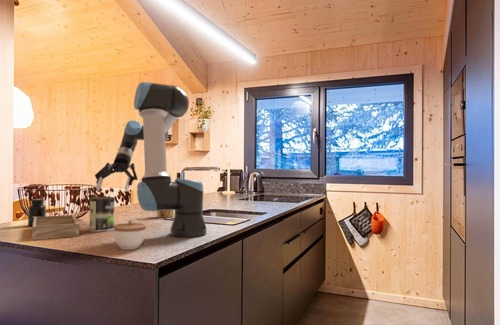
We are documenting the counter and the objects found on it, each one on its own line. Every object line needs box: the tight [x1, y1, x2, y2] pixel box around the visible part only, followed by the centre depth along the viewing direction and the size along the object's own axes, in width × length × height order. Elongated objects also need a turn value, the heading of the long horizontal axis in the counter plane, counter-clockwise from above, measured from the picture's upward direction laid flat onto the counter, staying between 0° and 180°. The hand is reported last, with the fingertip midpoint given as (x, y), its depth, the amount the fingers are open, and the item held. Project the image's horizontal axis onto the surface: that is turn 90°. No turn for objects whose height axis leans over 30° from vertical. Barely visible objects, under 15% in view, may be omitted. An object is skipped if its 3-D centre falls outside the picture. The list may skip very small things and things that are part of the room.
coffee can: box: [88, 196, 116, 233], centre depth 158 cm, size 10×10×14 cm
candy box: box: [156, 210, 175, 218], centre depth 198 cm, size 9×4×15 cm, turn 103°
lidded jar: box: [113, 220, 147, 250], centre depth 126 cm, size 11×11×9 cm
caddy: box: [31, 214, 80, 241], centre depth 151 cm, size 26×16×5 cm, turn 30°
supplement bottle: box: [27, 198, 47, 227], centre depth 166 cm, size 7×7×12 cm
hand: (111, 189), depth 169 cm, fingers open, 13 cm apart
